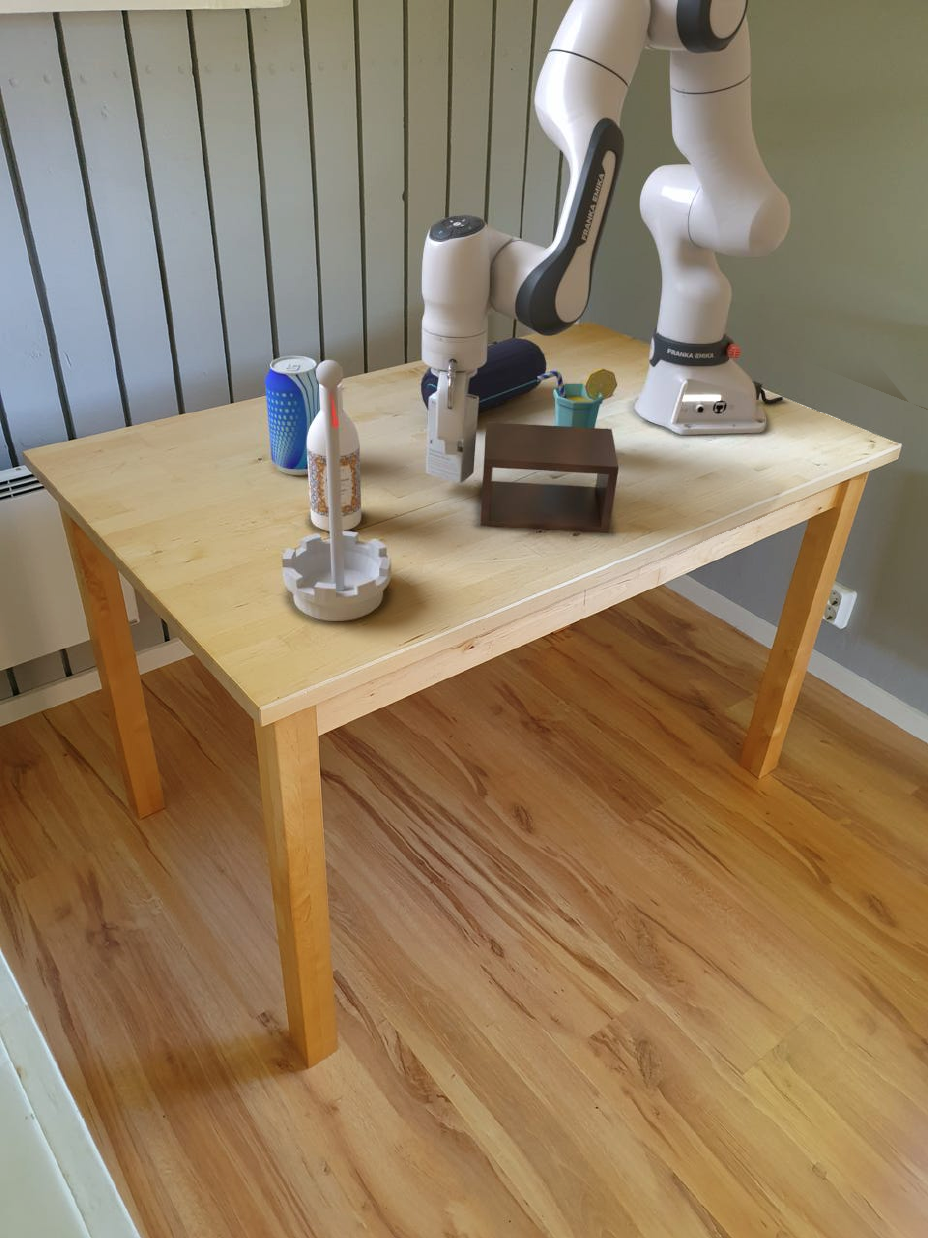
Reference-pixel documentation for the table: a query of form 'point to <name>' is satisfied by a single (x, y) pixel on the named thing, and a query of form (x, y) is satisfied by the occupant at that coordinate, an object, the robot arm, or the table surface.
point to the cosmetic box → (463, 461)
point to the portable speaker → (499, 373)
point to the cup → (581, 398)
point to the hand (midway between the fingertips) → (452, 441)
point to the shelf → (549, 501)
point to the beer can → (291, 410)
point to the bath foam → (347, 468)
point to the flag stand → (336, 541)
